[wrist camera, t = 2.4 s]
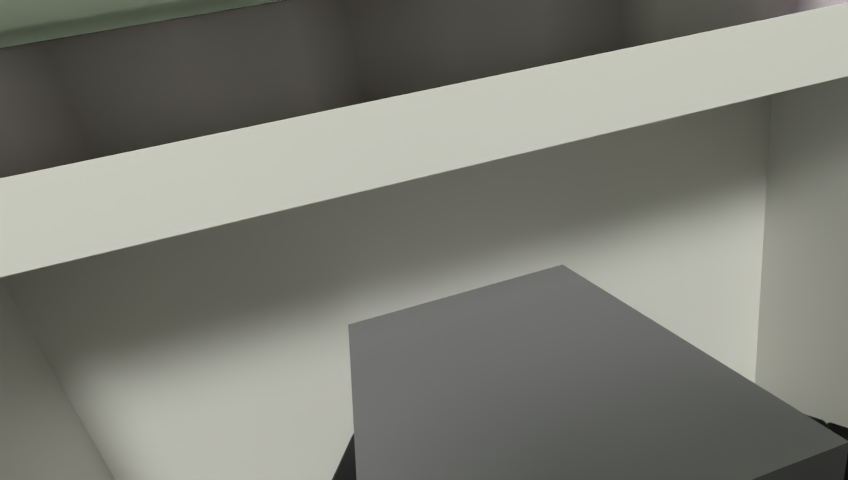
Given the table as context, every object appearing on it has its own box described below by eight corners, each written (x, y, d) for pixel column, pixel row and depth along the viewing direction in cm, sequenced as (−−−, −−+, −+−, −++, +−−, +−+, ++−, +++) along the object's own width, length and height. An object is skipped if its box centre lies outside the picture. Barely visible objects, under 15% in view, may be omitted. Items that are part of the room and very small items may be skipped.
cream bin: (746, 453, 12) (923, 596, 9) (207, 655, 10) (132, 961, 7) (769, 25, 9) (1093, -50, 5) (-59, 200, 7) (-575, 297, 3)
